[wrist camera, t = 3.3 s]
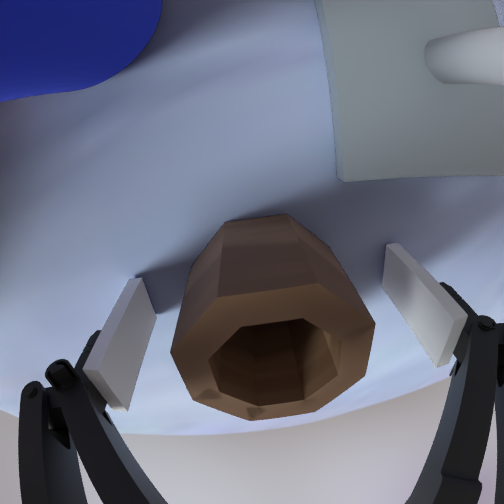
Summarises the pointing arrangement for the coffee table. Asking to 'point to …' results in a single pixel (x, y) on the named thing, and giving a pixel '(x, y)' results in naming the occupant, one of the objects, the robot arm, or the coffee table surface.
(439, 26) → the square plate with peg
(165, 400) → the coffee table surface
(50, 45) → the mug
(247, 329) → the ring
